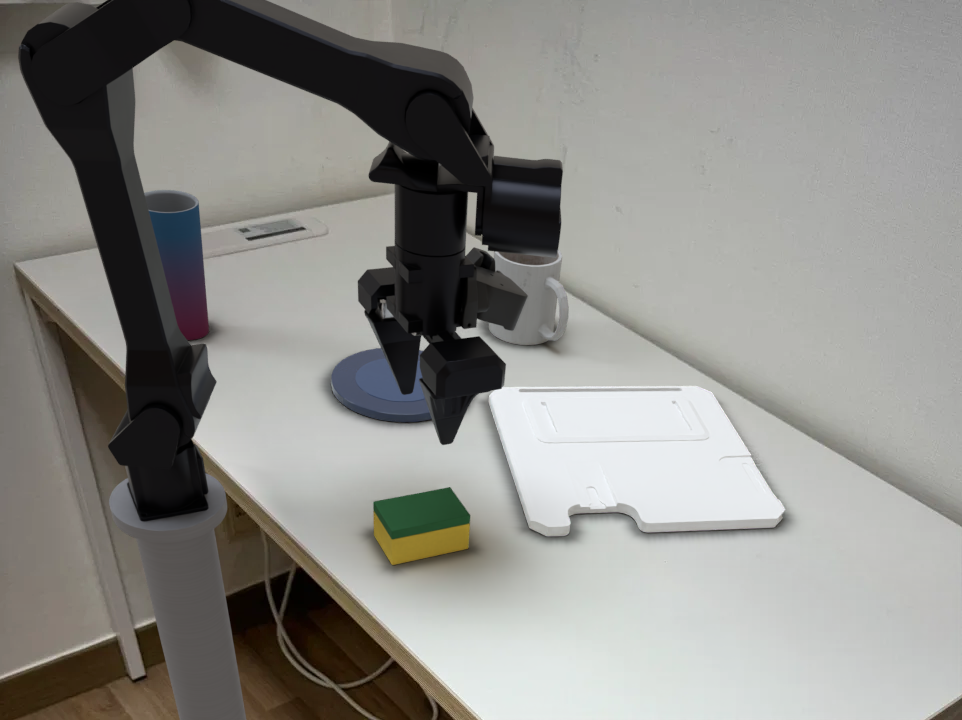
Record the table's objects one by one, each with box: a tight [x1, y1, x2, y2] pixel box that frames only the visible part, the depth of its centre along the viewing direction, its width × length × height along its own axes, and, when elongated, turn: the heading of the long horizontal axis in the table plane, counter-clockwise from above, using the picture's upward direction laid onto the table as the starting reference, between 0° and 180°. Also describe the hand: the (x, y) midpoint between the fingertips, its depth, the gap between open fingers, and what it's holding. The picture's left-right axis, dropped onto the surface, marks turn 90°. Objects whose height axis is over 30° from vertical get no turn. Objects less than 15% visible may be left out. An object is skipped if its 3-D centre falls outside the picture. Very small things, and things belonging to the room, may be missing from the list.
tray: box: [488, 385, 786, 537], centre depth 110 cm, size 28×28×2 cm
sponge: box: [372, 486, 471, 566], centre depth 95 cm, size 8×5×4 cm, turn 117°
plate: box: [330, 347, 432, 423], centre depth 116 cm, size 16×16×1 cm
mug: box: [488, 249, 570, 346], centre depth 125 cm, size 12×9×10 cm
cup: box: [144, 189, 210, 341], centre depth 115 cm, size 7×7×15 cm
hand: (426, 417), depth 90 cm, fingers open, 9 cm apart
